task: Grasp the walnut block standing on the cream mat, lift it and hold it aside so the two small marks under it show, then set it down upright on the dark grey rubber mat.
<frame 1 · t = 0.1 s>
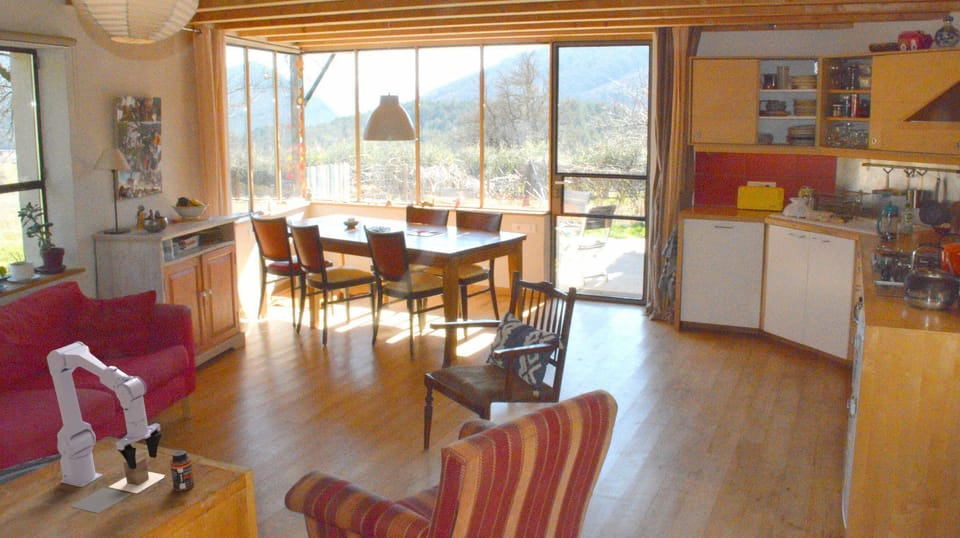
hand: (143, 462, 259), 10 cm above the table, tool pointing down, fingers open, 7 cm apart
cream mat: (138, 481, 270), on the table
supplement bottle: (184, 488, 264), on the table
grey mat: (101, 501, 259), on the table
walnut block: (138, 481, 270), resting on cream mat
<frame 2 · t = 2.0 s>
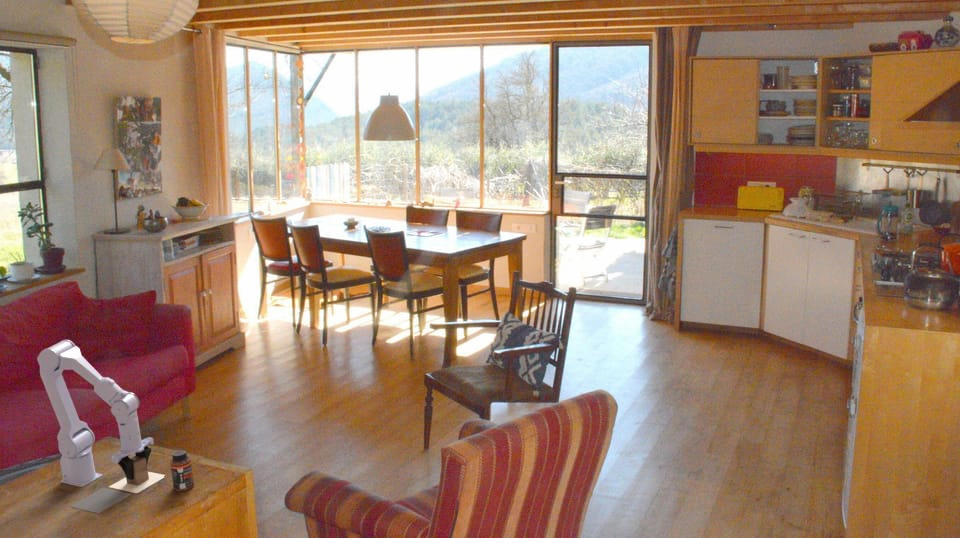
hand: (137, 475, 270), 2 cm above the table, tool pointing down, fingers closed on walnut block, 4 cm apart
walnut block: (138, 481, 270), resting on cream mat, touching gripper
everything else where it was.
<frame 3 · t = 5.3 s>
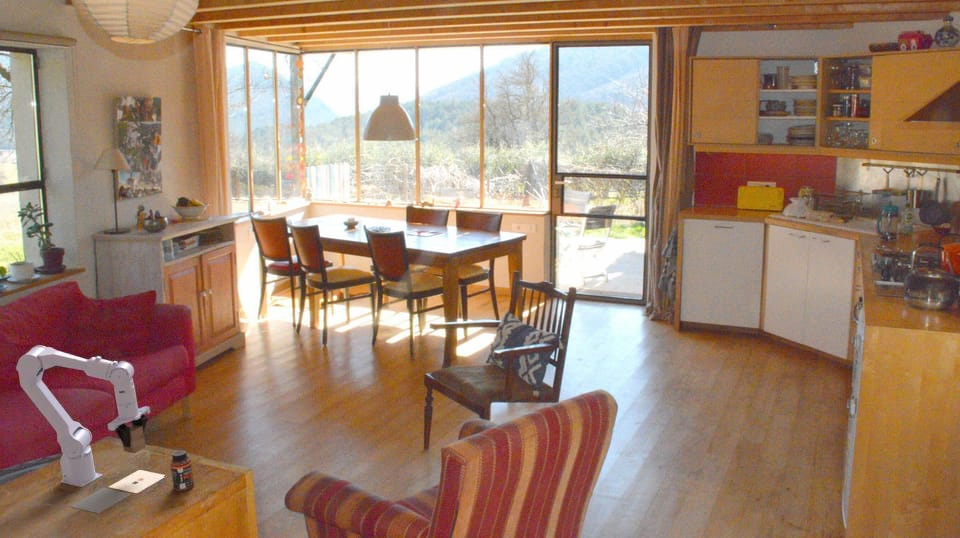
hand: (133, 443, 273), 10 cm above the table, tool pointing down, fingers closed on walnut block, 4 cm apart
walnut block: (134, 449, 273), point 8 cm above the table, touching gripper
everything else where it was.
when the fingers open (4 cm above the table, at t = 8.6 s): walnut block drops 1 cm, resting on grey mat.
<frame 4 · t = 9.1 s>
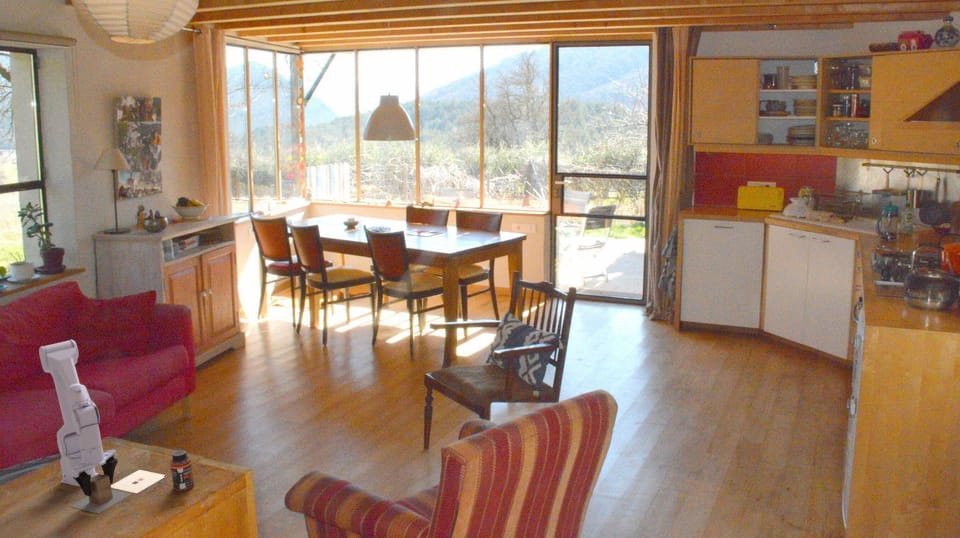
hand: (98, 489, 258), 4 cm above the table, tool pointing down, fingers open, 7 cm apart
walnut block: (101, 500, 259), resting on grey mat
everything else where it was.
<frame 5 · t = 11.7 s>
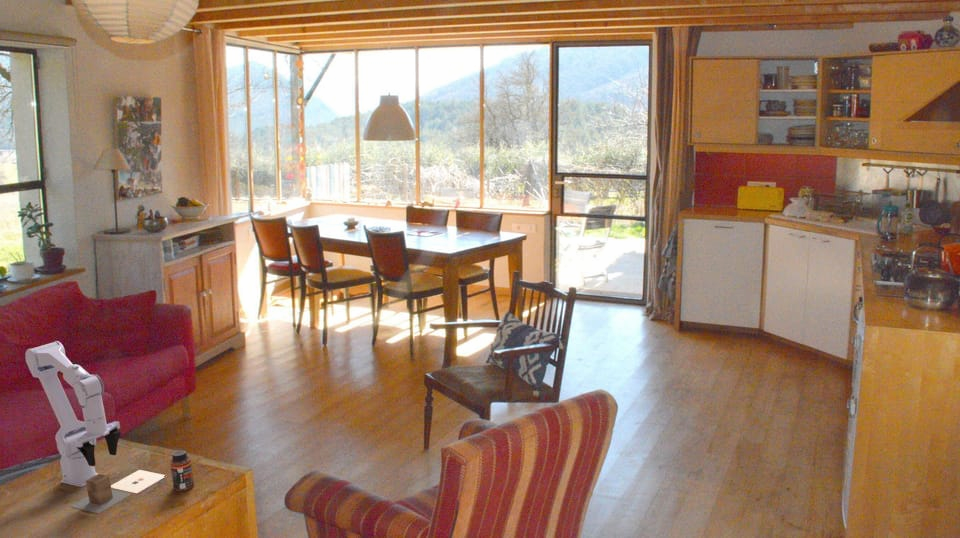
hand: (102, 459, 262), 10 cm above the table, tool pointing down, fingers open, 7 cm apart
nothing on the table moved.
at the end: walnut block inside the target area on the grey mat (0.1 cm from its centre), point 0.3 cm above the grey mat's base; walnut block tilted 0°; the gripper is holding nothing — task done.
